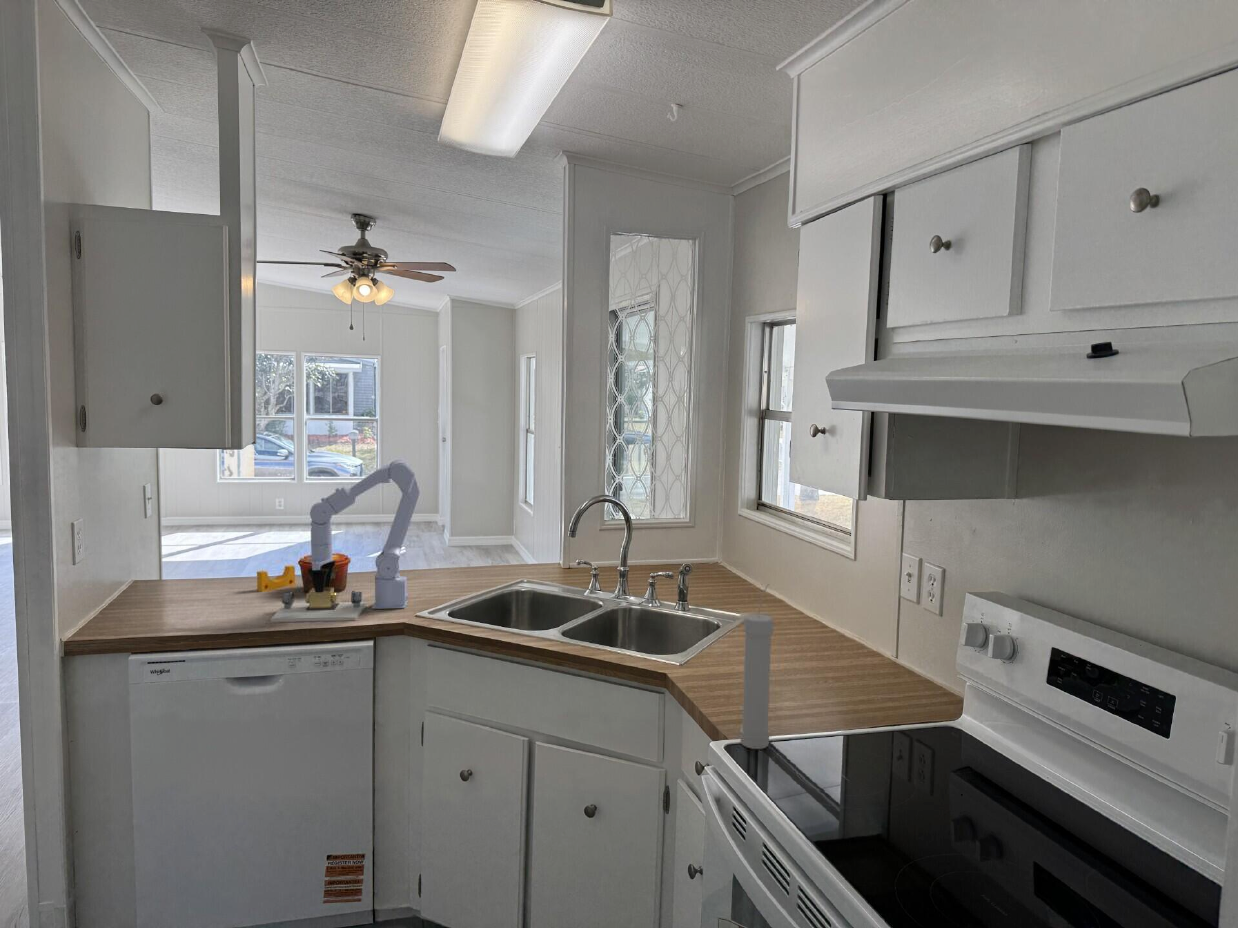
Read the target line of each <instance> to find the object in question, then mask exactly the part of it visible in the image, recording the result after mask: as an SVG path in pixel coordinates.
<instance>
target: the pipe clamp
mask: <svg viewBox="0 0 1238 928" xmlns="http://www.w3.org/2000/svg"><path fill="white" fill-rule="evenodd" d="M295 585H296V566H295V565H291V564H290V565H285V566H284V571H283V573H282V574H280V575H276V577H274V578H272V579H271V578H270V577H269V574H268V571H265V570H259V571H256V589H257V590H256V591H257V592H260V593H265V592H268V591H273V590H277V589H282V588H286V587H292V586H295Z"/></svg>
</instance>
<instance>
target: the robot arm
mask: <svg viewBox="0 0 1238 928" xmlns="http://www.w3.org/2000/svg"><path fill="white" fill-rule="evenodd" d="M390 480H391V481H392V482H393V483H395V484H396V485H397V486H398V488H399V490H400V492H401V494H402V495H401V498H400V500H399V503H398V506H397V509H396V512H395V515H394V519H393V522H392V524H391V527H390V529H389V533H388V535H387V539H386V542H385V543H384V545H383V548H382V550H381V552H380V553H379V554H378V556H377V557H376V558H375V567H376V571H377V572H376V574H374V603H373V604H372V606H371V609H372V610H374V609H375V610H376V609H377V610H378V609H380V610H381V609H382V610H383V609H405V608H406V607H407V606H406V605H407V604H408V601H409V600H408V598H409V597H408V596H409V595H408V578H407V576H401V575H400V573H399V572H400V571H399V570H400V565H399V561H400V558H401V552H402V547H403V544H404V541H405V538H406V535H407V532H408V529H409V527H410V523H411V520H412V517H413V515H414V512H415V509H416V506H417V502H418V500H419V496H420V493H421V492H420V489H419V486H418V482H417V479H416V475H415V472H414V471H413V469H412V468H411V466H409V465H408V464H407V463H406V461H403V460H401V459H400V460H398V459H395V460H393V461H391V463H389V464H385V465H383V466H382V467H380V468H378V469H376V470H375V471H373V472H372V473H370V474H369V475H367V476H366V477H364V478H363V479H361V480H360V481H358V482H357V483H355V484H354V485H353V486H352V485H351V487H345V486H343V487H341V488H340V487H337V488H335V492H333V493H332V494H330V495H328V496H327V497H322V498H321V499H320V501H321V502H319V501H318V502H316V503H314V504H313V505H312V506H311V507H310V512H309V516H310V518H311V522H310V526H311V528H310V548H311V549H310V551H311V552H310V553H311V554H310V555H311V558H308V559H307V561H311V563H312V568H309V569H308V574H309V575H310V577H311V579H312V582H313V585H314V589H315V592H316V593H322V592H323V591H324V586H329V585H330V581H331V575H332V571H333V568H334V566H335V564H336V561H333V557H332V554H333V541H332V540H333V538H332V537H333V534H332V531H333V530H332V527H331V520H332V516H336V515H338V514H339V513H341V512H343V511H344V510H346V509H347V508H349V507H351V506H352V505H354V504H355V503H356V499H357V497H358V496H360V495H362V494H364V493H365V492H368V490H370V489H372V488H374V487H375V486H378V485H379V484H391V481H390Z"/></svg>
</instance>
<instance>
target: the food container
mask: <svg viewBox="0 0 1238 928" xmlns="http://www.w3.org/2000/svg"><path fill="white" fill-rule="evenodd" d="M332 557H333V561H336V564H335V566H334V568H333V571H332V575H331V581H330V585H329V586H324V588H334V593H337V594H338V593H339V592H342V591H344V590H345V589H346V588H347V583H348V582H347V581H348V580H347V579H348V573H349V572H348V570H349V564H351V557H349V556H348V555H347V554H345V553H338V552H337V553H332ZM308 558H311V554H310V555H305V556H303V557H300V559H299V560H298V561H297V565H299V569H300V573H301V581H302V587H303V592H304V593H305V594H307V593H309V591H310V590H311V589H312V588H314V585H313V582H312V579H311V577H310V575H309V574H308V569H309V568H312V563H311V561H307V559H308Z"/></svg>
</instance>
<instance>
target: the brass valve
mask: <svg viewBox="0 0 1238 928" xmlns="http://www.w3.org/2000/svg"><path fill="white" fill-rule="evenodd" d="M338 597H339V596H338V592H337V593H334V588H324V591H323V592H322V593H316V592H315V589H314V588H312V589H311V590H310V591H309V593H305V603H309V608H331V607H332V606H333V605H334V603H337V602H338V599H339V598H338Z"/></svg>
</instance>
